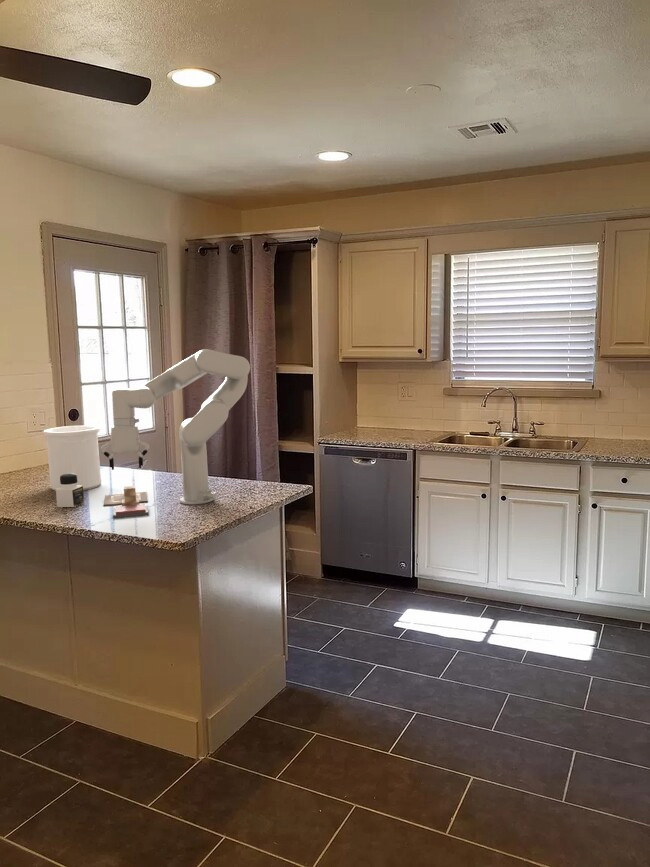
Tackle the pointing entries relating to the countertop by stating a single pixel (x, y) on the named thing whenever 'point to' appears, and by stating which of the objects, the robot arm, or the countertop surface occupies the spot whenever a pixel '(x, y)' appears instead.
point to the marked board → (118, 498)
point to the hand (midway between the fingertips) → (126, 468)
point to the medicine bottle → (69, 491)
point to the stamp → (130, 496)
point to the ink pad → (130, 511)
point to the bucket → (74, 455)
